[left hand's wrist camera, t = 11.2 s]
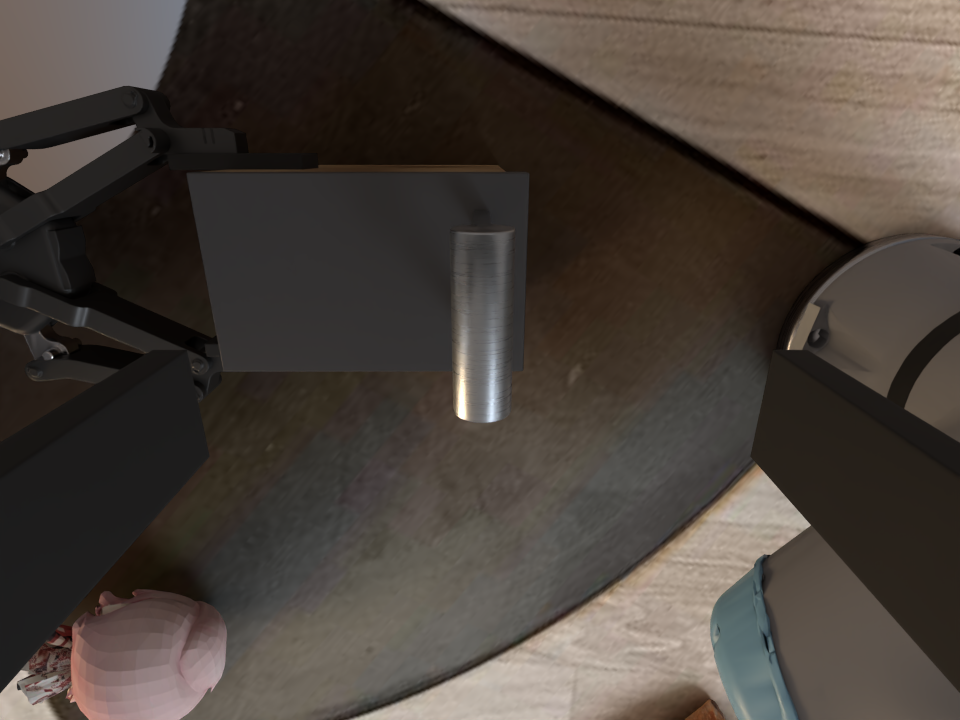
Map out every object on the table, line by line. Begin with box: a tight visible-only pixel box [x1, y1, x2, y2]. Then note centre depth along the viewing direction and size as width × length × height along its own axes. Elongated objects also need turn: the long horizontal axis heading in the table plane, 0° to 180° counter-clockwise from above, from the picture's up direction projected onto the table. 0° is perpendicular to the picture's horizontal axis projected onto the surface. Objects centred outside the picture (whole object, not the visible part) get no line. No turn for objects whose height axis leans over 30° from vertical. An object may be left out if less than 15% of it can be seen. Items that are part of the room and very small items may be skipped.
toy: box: [17, 589, 227, 720], centre depth 43 cm, size 12×11×15 cm
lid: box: [186, 172, 529, 423], centre depth 21 cm, size 14×9×9 cm, turn 90°
